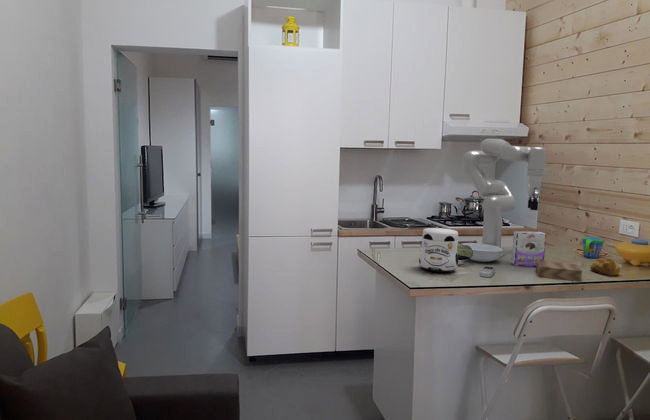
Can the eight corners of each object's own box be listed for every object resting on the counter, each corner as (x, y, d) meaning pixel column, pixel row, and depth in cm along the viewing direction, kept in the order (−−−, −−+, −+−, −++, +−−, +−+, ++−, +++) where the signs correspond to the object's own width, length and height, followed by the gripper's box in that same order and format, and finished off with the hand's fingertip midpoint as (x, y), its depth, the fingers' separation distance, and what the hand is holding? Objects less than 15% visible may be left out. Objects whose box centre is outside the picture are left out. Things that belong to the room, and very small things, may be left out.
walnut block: (538, 277, 225) (539, 266, 225) (535, 271, 239) (536, 260, 238) (580, 282, 220) (582, 270, 219) (575, 275, 233) (577, 264, 233)
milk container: (429, 275, 219) (432, 233, 217) (411, 266, 236) (414, 227, 234) (465, 274, 224) (468, 233, 222) (445, 265, 241) (448, 227, 239)
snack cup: (588, 254, 285) (590, 236, 284) (608, 257, 277) (610, 239, 276) (574, 256, 276) (576, 237, 275) (593, 260, 268) (595, 241, 266)
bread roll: (585, 270, 242) (586, 254, 241) (600, 269, 246) (601, 253, 245) (608, 277, 230) (610, 259, 229) (624, 276, 234) (626, 259, 233)
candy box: (539, 264, 251) (542, 231, 249) (543, 267, 245) (546, 233, 243) (510, 263, 252) (513, 230, 250) (513, 265, 246) (516, 232, 244)
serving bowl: (493, 267, 241) (494, 252, 241) (451, 259, 254) (452, 246, 253) (507, 260, 258) (508, 247, 257) (467, 254, 270) (468, 241, 270)
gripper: (525, 172, 252) (522, 206, 254) (529, 173, 236) (526, 210, 238) (541, 173, 250) (538, 207, 252) (546, 174, 234) (543, 211, 236)
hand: (532, 209), depth 245 cm, fingers open, 9 cm apart
